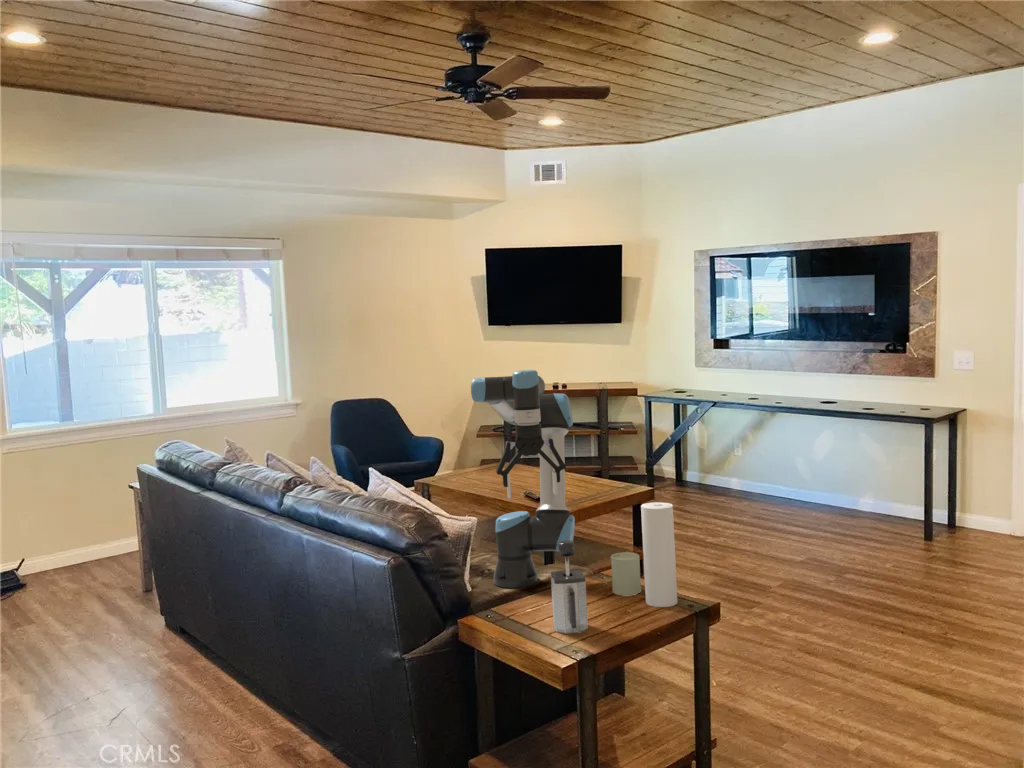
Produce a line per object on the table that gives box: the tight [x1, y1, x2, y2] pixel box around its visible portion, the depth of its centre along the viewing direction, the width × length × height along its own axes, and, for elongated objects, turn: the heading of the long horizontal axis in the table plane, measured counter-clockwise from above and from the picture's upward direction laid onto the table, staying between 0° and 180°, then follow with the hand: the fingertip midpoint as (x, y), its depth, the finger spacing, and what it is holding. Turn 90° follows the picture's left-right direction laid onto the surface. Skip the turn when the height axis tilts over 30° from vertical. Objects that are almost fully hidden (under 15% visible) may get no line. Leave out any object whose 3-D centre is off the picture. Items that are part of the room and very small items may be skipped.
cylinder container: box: [640, 501, 678, 608], centre depth 231 cm, size 9×9×30 cm
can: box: [610, 551, 642, 595], centre depth 243 cm, size 9×9×12 cm
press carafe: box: [550, 569, 589, 635], centre depth 213 cm, size 12×10×15 cm
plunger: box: [558, 540, 575, 576], centre depth 214 cm, size 7×7×20 cm
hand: (532, 495), depth 223 cm, fingers open, 13 cm apart
